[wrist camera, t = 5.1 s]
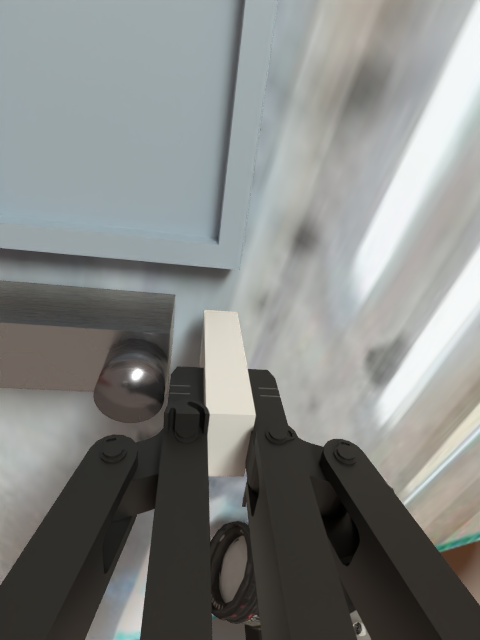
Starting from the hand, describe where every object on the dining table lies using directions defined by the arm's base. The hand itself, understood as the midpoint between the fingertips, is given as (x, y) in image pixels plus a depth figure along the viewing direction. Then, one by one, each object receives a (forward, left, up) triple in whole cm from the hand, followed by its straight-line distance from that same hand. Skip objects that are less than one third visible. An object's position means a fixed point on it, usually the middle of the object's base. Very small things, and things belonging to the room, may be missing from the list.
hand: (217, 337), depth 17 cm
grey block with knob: (0, -7, -2) cm, 7 cm away
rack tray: (-9, -5, -2) cm, 10 cm away
